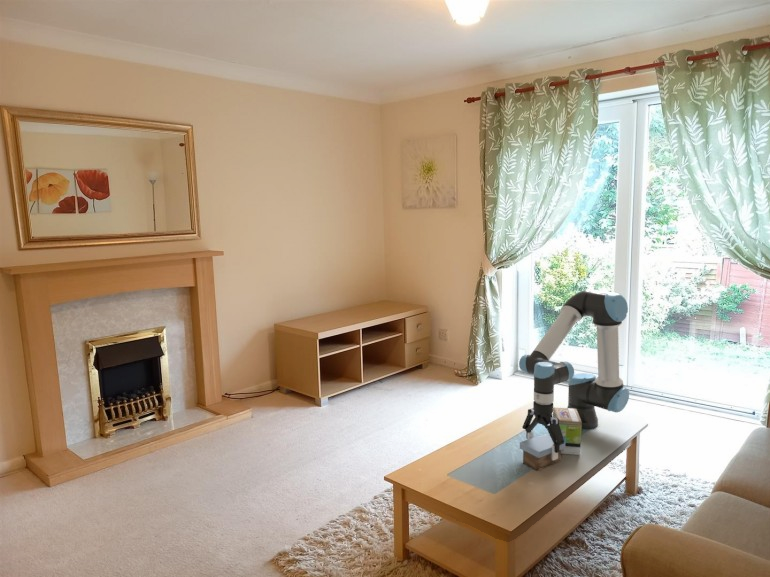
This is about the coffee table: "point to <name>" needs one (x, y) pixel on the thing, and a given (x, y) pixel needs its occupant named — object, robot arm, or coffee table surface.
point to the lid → (539, 445)
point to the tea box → (569, 429)
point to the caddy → (539, 460)
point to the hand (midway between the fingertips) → (542, 453)
